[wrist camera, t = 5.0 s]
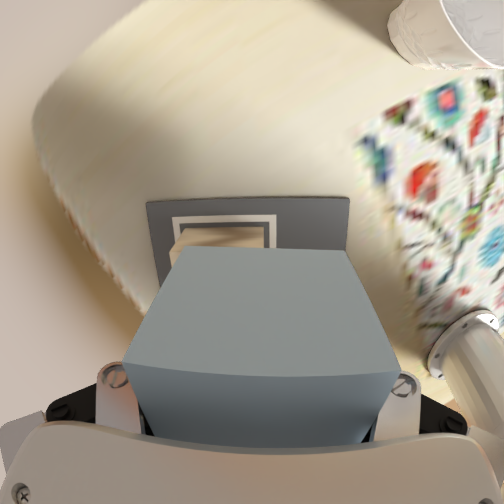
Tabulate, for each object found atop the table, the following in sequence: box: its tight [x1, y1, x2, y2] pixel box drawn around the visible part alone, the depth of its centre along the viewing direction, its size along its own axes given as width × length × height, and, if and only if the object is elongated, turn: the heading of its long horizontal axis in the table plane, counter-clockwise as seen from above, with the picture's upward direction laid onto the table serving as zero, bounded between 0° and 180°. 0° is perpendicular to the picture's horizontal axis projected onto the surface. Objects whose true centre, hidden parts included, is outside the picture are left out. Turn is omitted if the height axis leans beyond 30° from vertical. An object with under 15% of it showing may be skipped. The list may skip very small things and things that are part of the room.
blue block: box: [122, 246, 401, 448], centre depth 9 cm, size 6×6×6 cm
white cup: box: [387, 0, 504, 70], centre depth 13 cm, size 8×8×10 cm
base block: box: [169, 227, 264, 267], centre depth 25 cm, size 7×7×5 cm
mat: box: [146, 197, 350, 287], centre depth 28 cm, size 18×14×1 cm
